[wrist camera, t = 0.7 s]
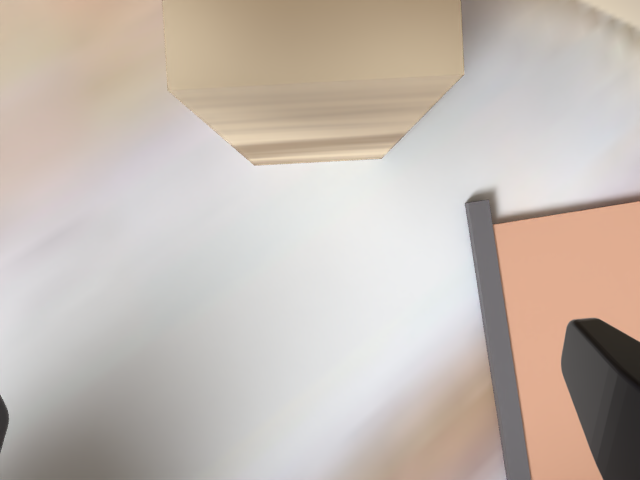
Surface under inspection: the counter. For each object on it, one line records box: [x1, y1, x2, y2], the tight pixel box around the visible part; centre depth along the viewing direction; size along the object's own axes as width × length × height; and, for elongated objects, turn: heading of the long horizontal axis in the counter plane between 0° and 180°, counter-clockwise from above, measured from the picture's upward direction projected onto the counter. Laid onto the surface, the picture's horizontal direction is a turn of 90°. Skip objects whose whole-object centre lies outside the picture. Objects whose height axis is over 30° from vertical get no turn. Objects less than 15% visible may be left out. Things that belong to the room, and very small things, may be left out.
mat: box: [465, 200, 640, 480], centre depth 23 cm, size 14×11×1 cm
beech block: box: [162, 0, 464, 166], centre depth 16 cm, size 5×5×13 cm
